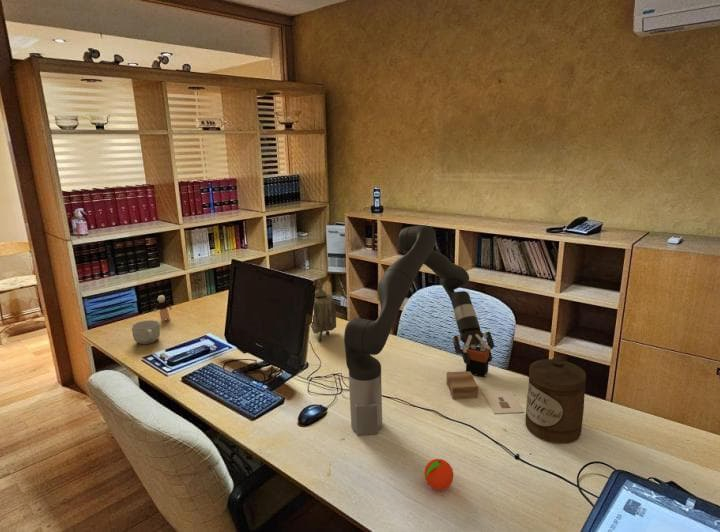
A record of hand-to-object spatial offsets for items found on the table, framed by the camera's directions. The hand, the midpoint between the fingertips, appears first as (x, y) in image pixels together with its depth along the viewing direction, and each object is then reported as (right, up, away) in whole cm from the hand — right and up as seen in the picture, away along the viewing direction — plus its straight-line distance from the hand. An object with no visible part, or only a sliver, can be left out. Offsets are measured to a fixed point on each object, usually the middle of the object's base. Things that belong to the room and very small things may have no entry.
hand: (479, 362), depth 164 cm
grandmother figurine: (-134, +7, +59) cm, 146 cm away
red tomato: (-23, -20, -50) cm, 58 cm away
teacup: (-131, +1, +36) cm, 136 cm away
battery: (0, -4, +3) cm, 5 cm away
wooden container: (+14, -13, -29) cm, 34 cm away
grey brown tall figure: (-57, +4, +37) cm, 68 cm away
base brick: (-8, -7, -8) cm, 13 cm away
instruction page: (+3, -9, -16) cm, 18 cm away
